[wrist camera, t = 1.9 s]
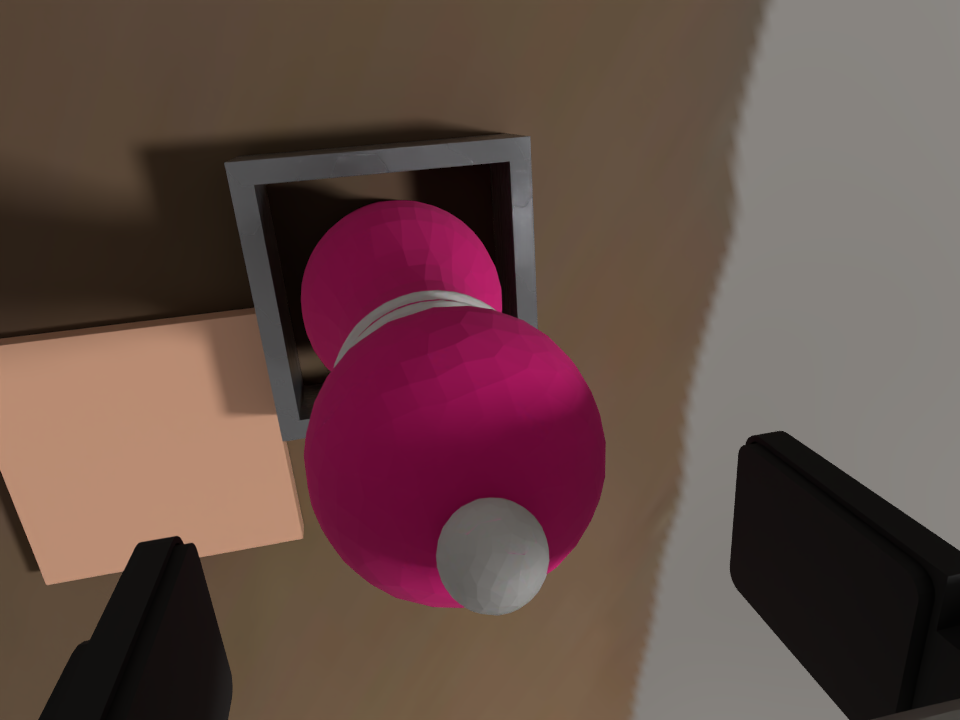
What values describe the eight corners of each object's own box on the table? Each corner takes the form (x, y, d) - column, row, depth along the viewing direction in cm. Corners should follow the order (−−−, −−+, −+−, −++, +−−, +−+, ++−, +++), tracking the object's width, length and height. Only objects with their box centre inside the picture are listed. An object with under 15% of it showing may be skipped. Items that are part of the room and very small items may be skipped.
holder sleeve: (238, 156, 25) (224, 162, 22) (506, 133, 26) (530, 136, 23) (288, 404, 29) (282, 441, 25) (519, 370, 30) (540, 401, 27)
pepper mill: (353, 379, 29) (384, 839, 11) (273, 231, 26) (126, 515, 8) (499, 312, 29) (774, 648, 11) (436, 158, 26) (667, 266, 8)
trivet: (-34, 342, 25) (-48, 351, 24) (258, 307, 27) (256, 313, 26) (55, 570, 29) (46, 585, 28) (303, 526, 31) (303, 538, 30)
